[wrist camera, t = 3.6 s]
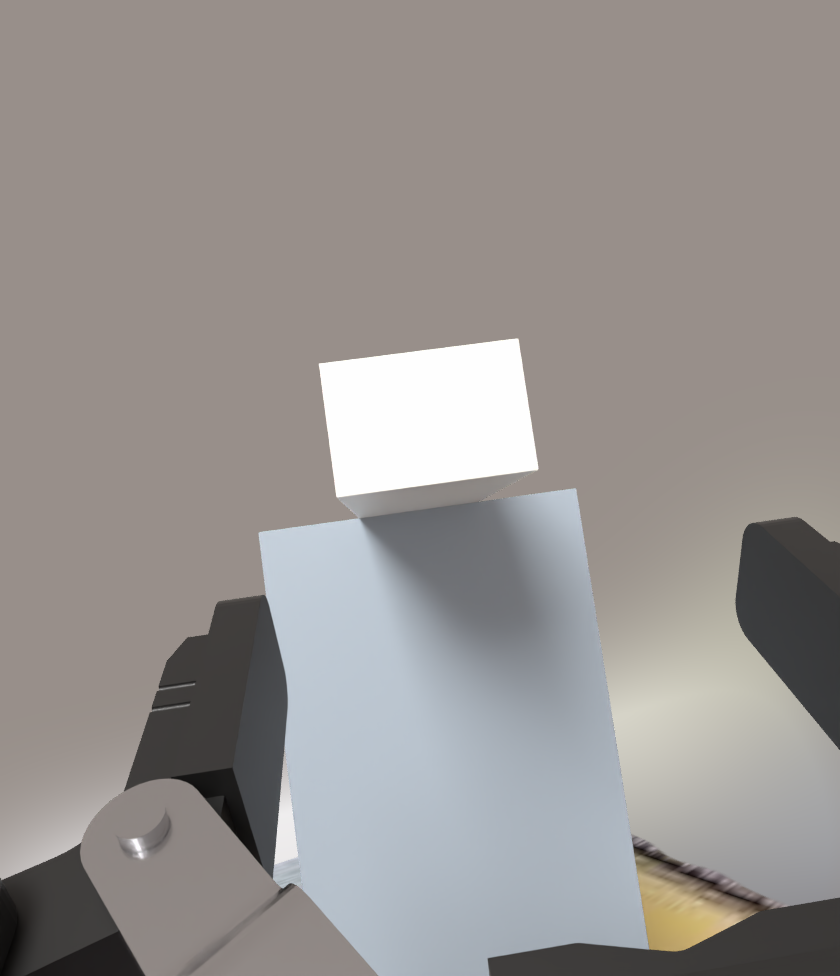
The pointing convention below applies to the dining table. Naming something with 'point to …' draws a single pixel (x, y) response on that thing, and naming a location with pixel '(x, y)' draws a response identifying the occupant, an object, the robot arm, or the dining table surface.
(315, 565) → the post
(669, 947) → the dining table surface
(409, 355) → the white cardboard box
